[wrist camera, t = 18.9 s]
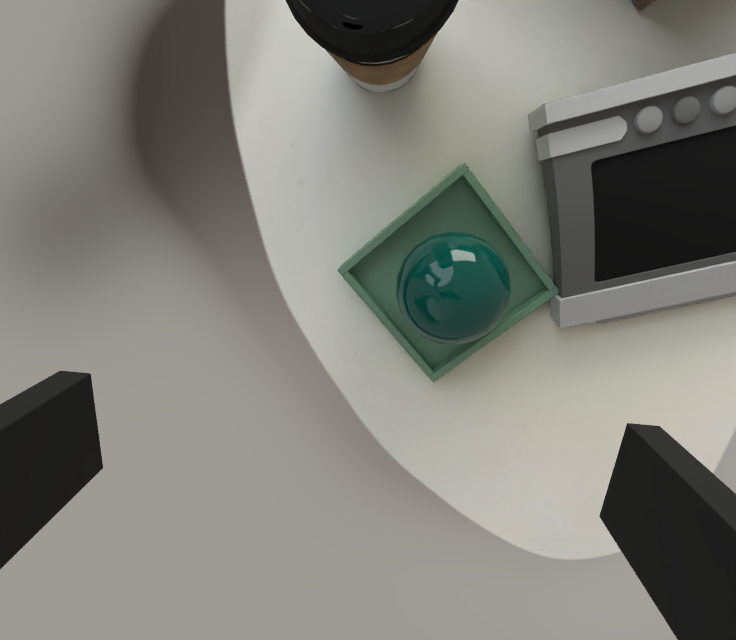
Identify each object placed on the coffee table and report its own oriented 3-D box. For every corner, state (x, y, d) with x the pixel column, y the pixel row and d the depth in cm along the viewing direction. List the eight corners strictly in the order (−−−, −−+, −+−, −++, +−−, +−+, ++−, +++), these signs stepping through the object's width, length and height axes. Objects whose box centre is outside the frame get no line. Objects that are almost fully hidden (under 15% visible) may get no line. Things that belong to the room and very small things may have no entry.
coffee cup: (314, 100, 31) (245, 23, 17) (332, -37, 29) (269, -263, 14) (427, 121, 31) (453, 62, 17) (454, -14, 29) (513, -218, 14)
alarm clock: (843, 23, 25) (835, 291, 29) (774, 51, 29) (775, 279, 33) (544, 103, 27) (575, 344, 31) (522, 118, 31) (552, 326, 35)
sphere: (409, 216, 33) (413, 223, 25) (510, 239, 33) (544, 254, 25) (385, 313, 35) (382, 347, 28) (479, 335, 35) (502, 374, 28)
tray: (339, 266, 35) (336, 270, 33) (461, 163, 32) (464, 162, 30) (431, 374, 37) (433, 382, 35) (553, 287, 34) (560, 292, 33)
